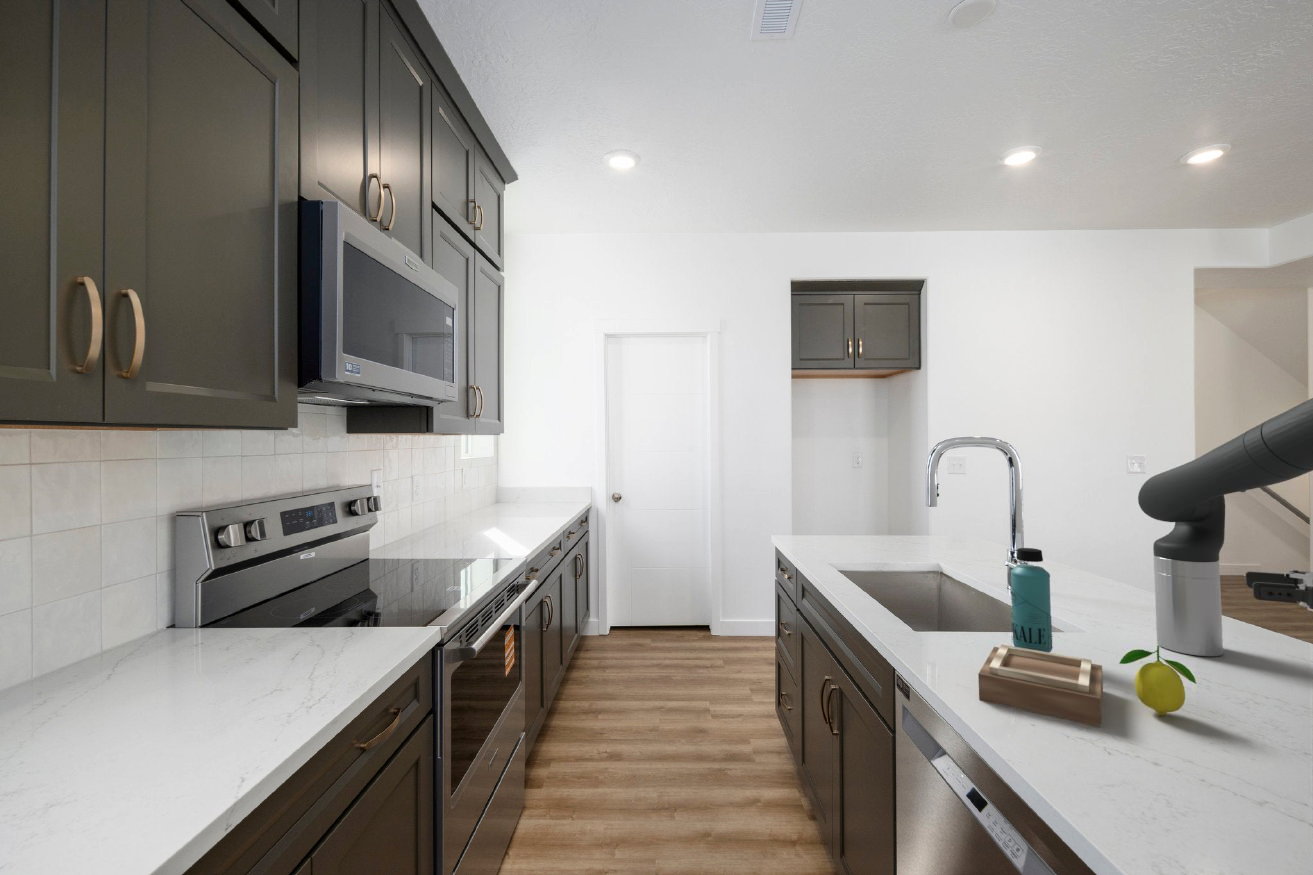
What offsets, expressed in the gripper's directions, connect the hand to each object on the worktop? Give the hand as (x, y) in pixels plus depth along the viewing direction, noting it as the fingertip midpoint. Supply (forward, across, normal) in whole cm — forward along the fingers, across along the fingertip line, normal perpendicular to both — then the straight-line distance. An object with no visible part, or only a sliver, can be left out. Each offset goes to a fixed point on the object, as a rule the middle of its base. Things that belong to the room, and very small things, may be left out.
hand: (1249, 584), depth 77 cm
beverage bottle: (+28, -16, +19) cm, 38 cm away
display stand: (+24, +3, +19) cm, 31 cm away
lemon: (+10, 0, +20) cm, 23 cm away
